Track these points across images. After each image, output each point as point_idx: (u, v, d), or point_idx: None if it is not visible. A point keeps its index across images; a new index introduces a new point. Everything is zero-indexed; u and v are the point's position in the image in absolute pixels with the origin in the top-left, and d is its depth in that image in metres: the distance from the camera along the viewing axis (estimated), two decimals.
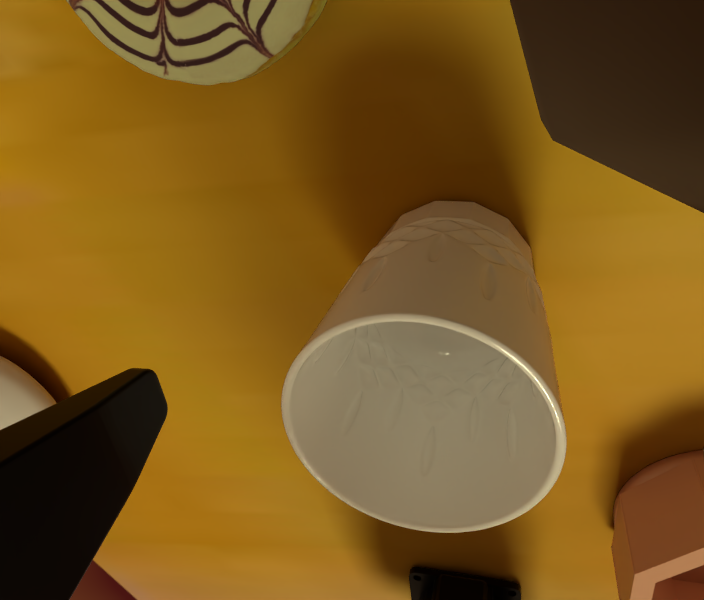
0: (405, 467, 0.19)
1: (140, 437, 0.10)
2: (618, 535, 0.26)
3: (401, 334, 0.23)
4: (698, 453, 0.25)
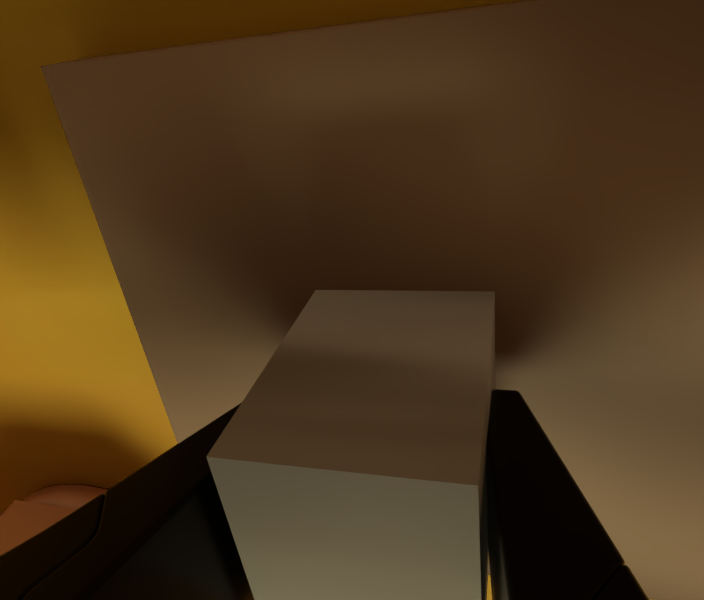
0: None
1: None
2: None
3: None
4: (53, 489, 0.17)
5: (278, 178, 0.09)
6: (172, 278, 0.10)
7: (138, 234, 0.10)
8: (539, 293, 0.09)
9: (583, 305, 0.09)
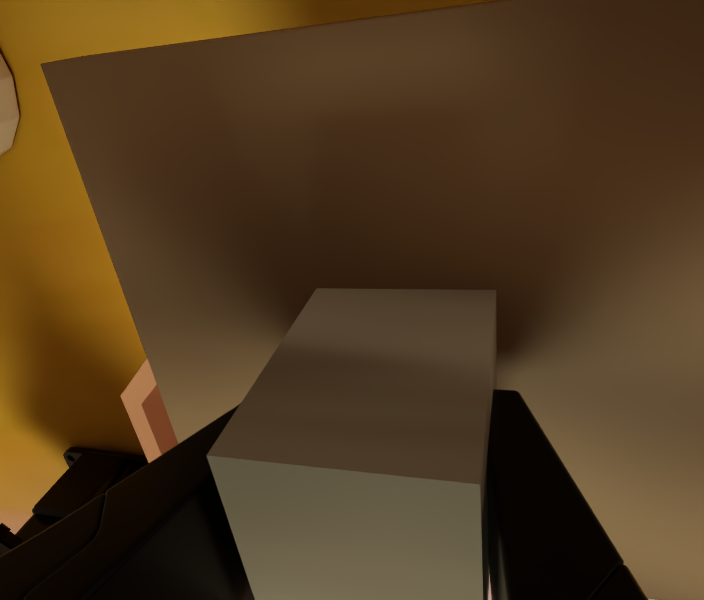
0: None
1: None
2: None
3: None
4: None
5: (279, 176, 0.09)
6: (172, 277, 0.10)
7: (138, 232, 0.10)
8: (541, 291, 0.09)
9: (585, 303, 0.08)
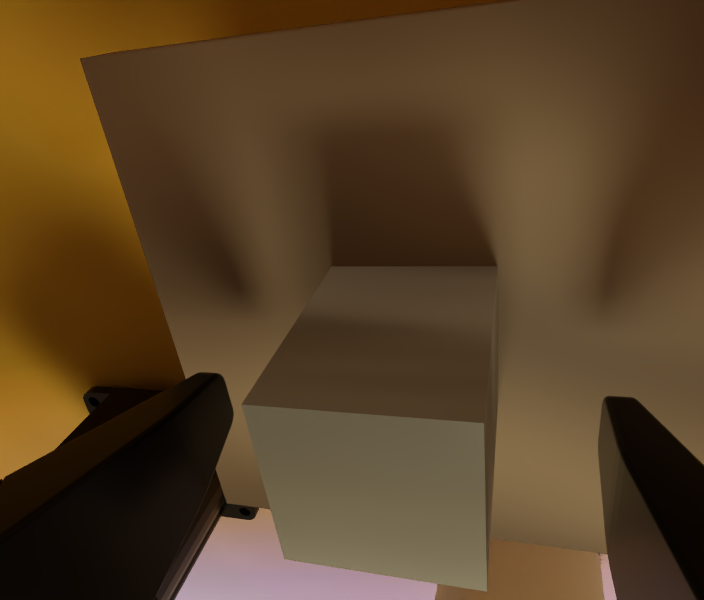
0: None
1: (210, 444, 0.09)
2: None
3: None
4: None
5: (298, 162, 0.10)
6: (197, 257, 0.11)
7: (166, 215, 0.11)
8: (538, 267, 0.09)
9: (579, 278, 0.09)
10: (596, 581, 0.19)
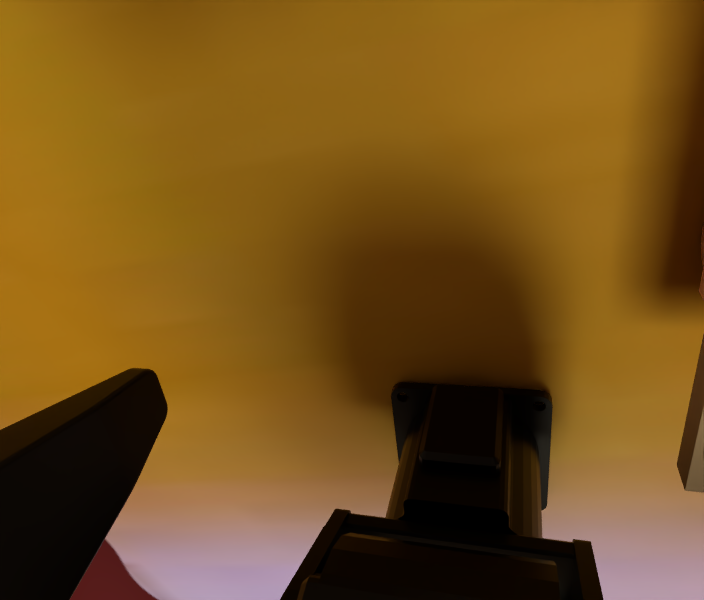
0: None
1: (140, 437, 0.10)
2: None
3: None
4: None
5: None
6: None
7: None
8: None
9: None
10: None
